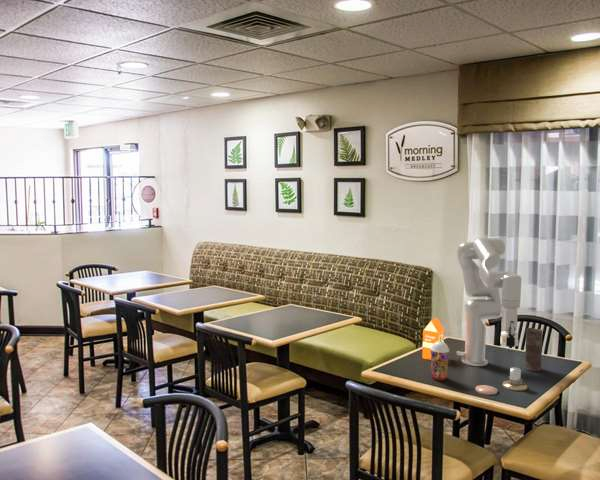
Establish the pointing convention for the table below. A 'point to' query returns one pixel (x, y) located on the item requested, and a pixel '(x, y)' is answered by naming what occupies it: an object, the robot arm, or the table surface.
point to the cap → (504, 338)
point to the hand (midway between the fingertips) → (508, 343)
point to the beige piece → (515, 380)
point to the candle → (533, 349)
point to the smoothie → (439, 360)
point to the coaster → (486, 389)
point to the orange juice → (431, 336)
